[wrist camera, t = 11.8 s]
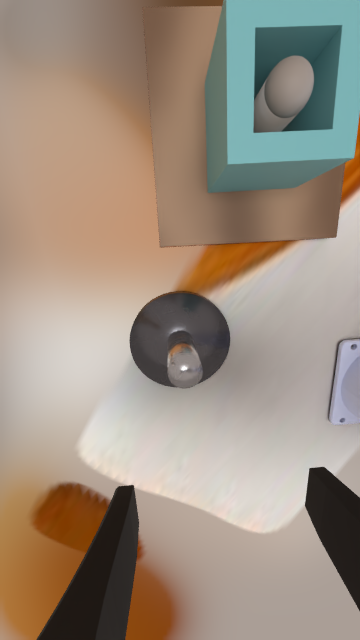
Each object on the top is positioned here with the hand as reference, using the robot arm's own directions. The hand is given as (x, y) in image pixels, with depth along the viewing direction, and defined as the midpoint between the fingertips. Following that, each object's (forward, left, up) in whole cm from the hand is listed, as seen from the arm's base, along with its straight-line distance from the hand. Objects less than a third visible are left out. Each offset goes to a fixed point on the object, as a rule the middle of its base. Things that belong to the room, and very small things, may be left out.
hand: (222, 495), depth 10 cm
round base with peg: (+1, -3, -10) cm, 11 cm away
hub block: (-4, -16, -10) cm, 19 cm away
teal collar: (-4, -16, -9) cm, 19 cm away
